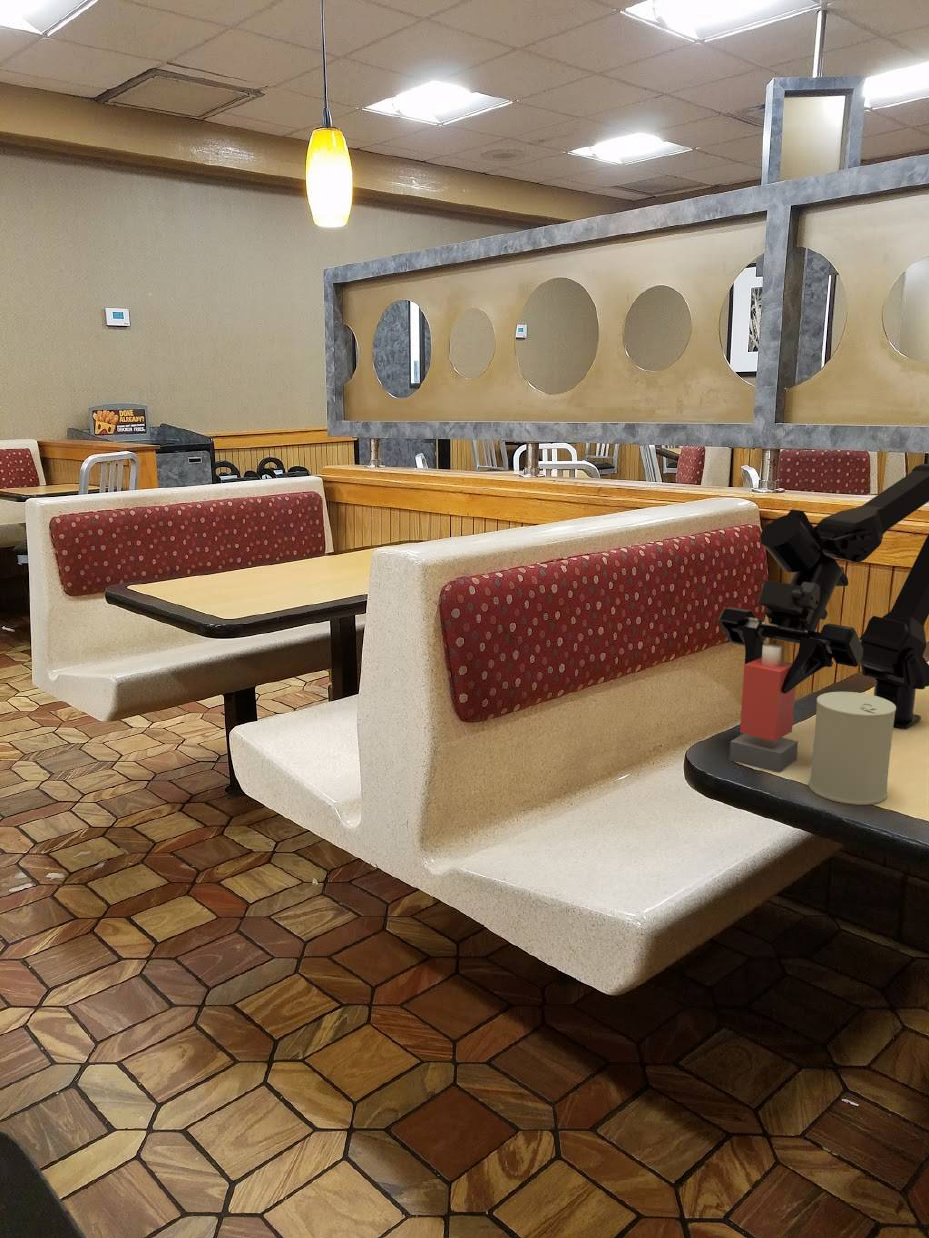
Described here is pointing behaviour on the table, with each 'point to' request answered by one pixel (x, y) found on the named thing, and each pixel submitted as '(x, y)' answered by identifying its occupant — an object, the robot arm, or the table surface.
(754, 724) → the ketchup bottle
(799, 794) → the table surface
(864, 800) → the can
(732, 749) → the grey box
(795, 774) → the table surface
